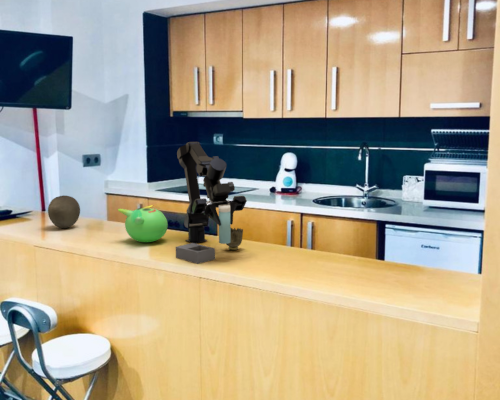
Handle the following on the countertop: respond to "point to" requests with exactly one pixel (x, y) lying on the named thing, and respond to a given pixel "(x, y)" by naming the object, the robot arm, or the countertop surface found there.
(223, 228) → the peg
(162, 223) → the toy bird
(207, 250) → the socket
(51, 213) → the cantaloupe
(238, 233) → the cup
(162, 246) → the countertop surface
